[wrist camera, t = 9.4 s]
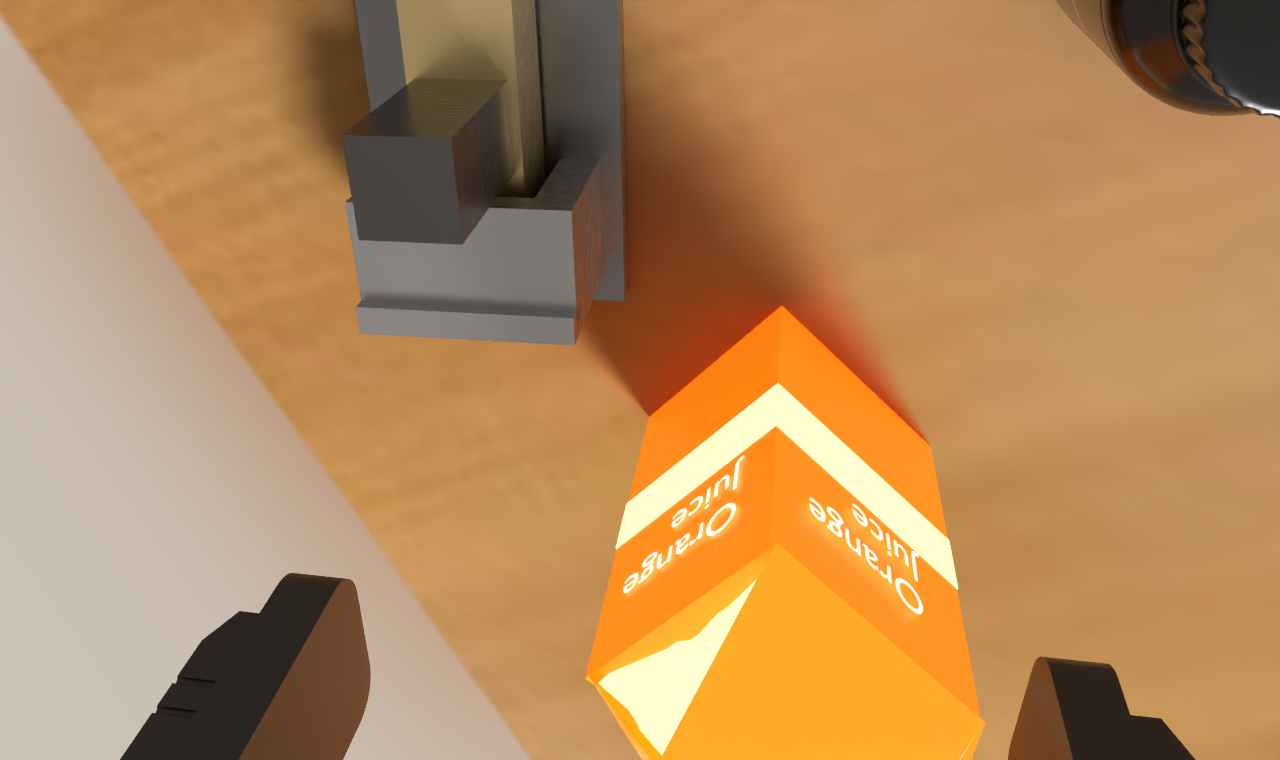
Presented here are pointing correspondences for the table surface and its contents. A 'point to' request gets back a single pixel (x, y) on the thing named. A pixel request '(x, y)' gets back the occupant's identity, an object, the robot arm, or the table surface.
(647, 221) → the table surface
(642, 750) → the orange juice
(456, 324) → the rail
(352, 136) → the block
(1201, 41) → the supplement bottle
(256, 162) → the table surface
